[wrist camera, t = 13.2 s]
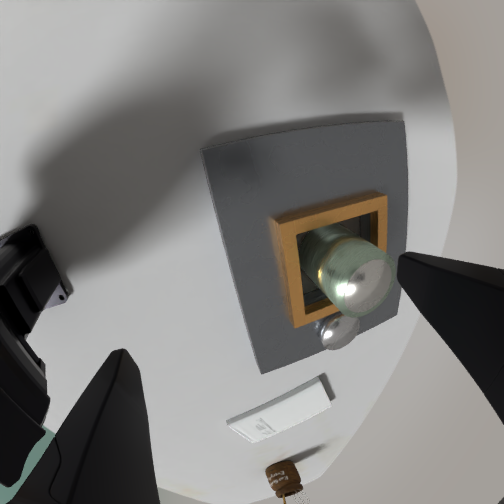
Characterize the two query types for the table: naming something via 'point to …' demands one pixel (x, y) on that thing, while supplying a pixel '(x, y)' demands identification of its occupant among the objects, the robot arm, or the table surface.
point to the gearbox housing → (305, 225)
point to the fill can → (347, 269)
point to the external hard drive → (282, 412)
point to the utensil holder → (284, 479)
